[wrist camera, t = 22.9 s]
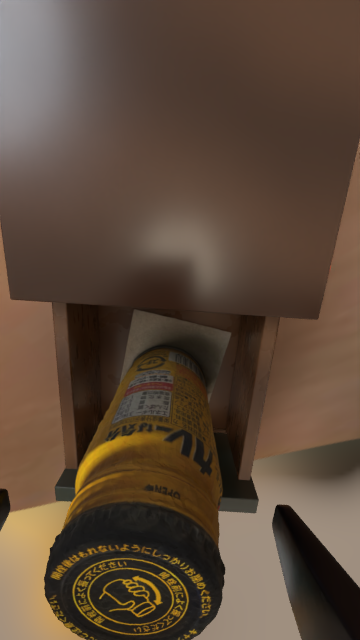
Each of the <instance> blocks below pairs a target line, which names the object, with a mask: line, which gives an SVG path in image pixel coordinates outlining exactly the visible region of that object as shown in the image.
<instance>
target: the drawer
mask: <svg viewBox="0 0 360 640" xmlns="http://www.w3.org/2000/svg"><path fill="white" fill-rule="evenodd" d="M52 309H53V321H54V333H55V345H56V357H57V369H58V381H59V393H60V405H61V417H62V429H63V441H64V453H65V465H66V468H65V470H64V472H63V473H62V475H61V477H60V479H59V480H58V482H57V484H56V486H55V494H56V500H57V501H71V502H72V501H73V499H74V498H75V496H76V493H75V482H76V476H77V472H78V469H79V465H80V463H81V461H82V459H83V457H84V455H85V453H86V451H87V449H88V447H89V445H90V443H91V441H92V440H93V437H94V435H95V433H96V432H97V429H98V425H99V424H100V422H101V421H102V420H103V419H104V416H105V414H106V411H107V410H108V409H109V407H110V404H111V402H112V401H113V399H114V396H115V394H116V392H117V389H118V387H119V385H120V380H121V375H122V370H123V364H124V358H125V353H126V347H127V343H128V337H129V332H130V327H131V321H132V316H133V311H134V309H136V310H140V311H144V312H148V313H153V314H157V315H161V316H165V317H170V318H176V319H178V320H183V321H187V322H191V323H195V324H199V325H203V326H207V327H211V328H215V329H219V330H222V331H227V332H230V333H231V336H230V339H229V343H228V346H227V349H226V351H225V354H224V357H223V360H222V364H221V367H220V370H219V374H218V377H217V379H216V382H215V385H214V388H213V392H212V394H211V397H210V401H209V409H210V415H211V421H212V427H213V428H217V429H226V433H214V438H215V443H216V450H217V456H218V461H219V467H220V473H221V479H222V488H223V491H222V498H221V503H220V508H219V510H218V511H229V512H244V513H256V510H257V505H258V496H257V493H256V490H255V487H254V484H253V481H252V478H251V472H252V466H253V461H254V455H255V450H256V444H257V439H258V434H259V428H260V423H261V417H262V412H263V406H264V401H265V396H266V390H267V385H268V379H269V374H270V368H271V363H272V358H273V352H274V347H275V341H276V336H277V330H278V325H279V320H280V317H269V316H254V315H238V314H223V313H208V312H193V311H178V310H163V309H147V308H132V307H117V306H102V305H87V304H71V303H56V302H52Z"/></svg>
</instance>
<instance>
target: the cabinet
mask: <svg viewBox="0 0 360 640" xmlns="http://www.w3.org/2000/svg"><path fill="white" fill-rule="evenodd" d="M359 139H360V0H0V222H1V230H2V238H3V245H4V253H5V260H6V268H7V276H8V283H9V291H10V298H11V299H12V300H26V301H41V302H56V303H71V304H87V305H102V306H117V307H132V308H147V309H163V310H178V311H193V312H208V313H223V314H238V315H254V316H269V317H284V318H299V319H314V320H317V319H318V318H319V313H320V309H321V305H322V300H323V296H324V292H325V287H326V283H327V279H328V274H329V270H330V266H331V261H332V257H333V252H334V248H335V244H336V239H337V235H338V231H339V226H340V222H341V218H342V213H343V209H344V205H345V200H346V196H347V192H348V187H349V183H350V178H351V174H352V170H353V165H354V161H355V157H356V152H357V148H358V144H359Z"/></svg>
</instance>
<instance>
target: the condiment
mask: <svg viewBox="0 0 360 640" xmlns="http://www.w3.org/2000/svg"><path fill="white" fill-rule="evenodd" d="M230 336H231V333H230V332H227V331H222V330H219V329H215V328H211V327H207V326H203V325H199V324H195V323H191V322H187V321H183V320H178V319H176V318H170V317H165V316H161V315H157V314H153V313H148V312H144V311H140V310H136V309H134V311H133V316H132V321H131V327H130V332H129V337H128V343H127V347H126V353H125V358H124V364H123V370H122V375H121V380H120V385H119V387H118V389H117V392H116V394H115V396H114V399H113V401H112V402H111V404H110V407H109V409H108V410H107V411H106V414H105V416H104V419H103V420H102V421H101V422H100V424H99V425H98V429H97V432H96V433H95V435H94V437H93V440H92V441H91V443H90V445H89V447H88V449H87V451H86V453H85V455H84V457H83V459H82V461H81V463H80V465H79V469H78V472H77V476H76V482H75V493H76V496H75V498H74V499H73V501H72V503H71V504H70V507H69V510H68V513H67V517H66V520H65V523H64V526H63V529H62V531H61V533H60V534H59V535H58V536H56V538H55V542H54V544H53V546H52V547H51V548H50V556H49V560H48V563H47V568H46V574H45V577H44V581H45V588H44V589H45V596H46V598H47V601H48V602H49V604H50V606H51V608H52V610H53V613H54V614H55V616H57V618H58V620H60V621H62V622H63V624H64V626H66V627H67V628H69V629H70V630H71V631H72V632H73V633H75V634H77V635H78V636H79V637H82V638H84V639H86V640H191V639H193V638H194V637H196V636H197V635H199V634H200V633H201V632H202V631H203V630H204V629H205V627H206V626H207V625H208V624H209V623H210V622H211V621H212V620H213V619H214V618H215V617H216V615H217V613H218V610H219V608H220V605H221V601H222V589H223V586H224V574H225V567H224V564H223V562H222V560H221V557H220V552H219V548H218V539H219V522H218V510H219V508H220V503H221V498H222V491H223V488H222V479H221V473H220V467H219V461H218V456H217V450H216V443H215V438H214V433H213V427H212V421H211V415H210V409H209V401H210V397H211V394H212V392H213V388H214V385H215V382H216V379H217V377H218V374H219V370H220V367H221V364H222V360H223V357H224V354H225V351H226V349H227V346H228V343H229V339H230Z"/></svg>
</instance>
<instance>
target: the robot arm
mask: <svg viewBox="0 0 360 640" xmlns="http://www.w3.org/2000/svg"><path fill="white" fill-rule="evenodd" d="M9 512H10V502H9V496H8V491H7V490H6V489H0V530H1V529H2V527H3V525H4V523H5V521H6V518H7V517H8V515H9ZM272 527H273V533H274V537H275V541H276V546H277V550H278V554H279V559H280V563H281V567H282V572H283V576H284V580H285V584H286V588H287V592H288V596H289V600H290V603H291V607H292V610H293V613H294V616H295V620H296V623H297V626H298V630H299V633H300V636H301V639H302V640H360V588H359V587H358V585H357V584H356V583H355V582H354V581H353V580H352V578H351V577H350V576H349V575H348V574H347V573H346V571H345V570H344V569H343V568H342V567H341V565H340V564H339V563H338V562H337V561H336V559H335V558H334V557H333V556H332V555H331V554H330V552H329V551H328V550H327V549H326V548H325V546H324V545H323V544H322V543H321V542H320V541H319V540H318V538H317V537H316V536H315V535H314V534H313V532H312V531H311V530H310V529H309V528H308V527H307V525H306V524H305V523H304V522H303V521H302V519H300V517H299V516H298V515H297V514H296V512H295V511H294V510H293V509H292V508H291V507H290V506H289V505H277V506H276V508H275V513H274V517H273V522H272Z"/></svg>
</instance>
